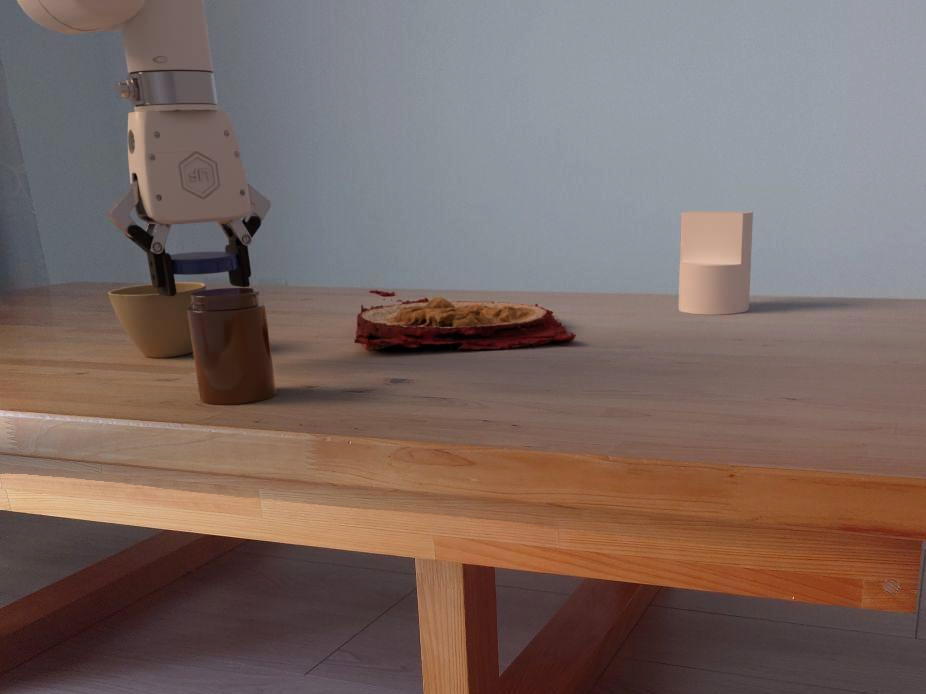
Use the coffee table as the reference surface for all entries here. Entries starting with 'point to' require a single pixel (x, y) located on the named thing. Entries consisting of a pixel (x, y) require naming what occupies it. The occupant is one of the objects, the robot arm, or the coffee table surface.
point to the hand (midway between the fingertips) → (204, 288)
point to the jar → (231, 346)
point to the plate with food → (457, 324)
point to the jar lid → (203, 262)
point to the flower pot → (156, 318)
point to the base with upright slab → (715, 262)
